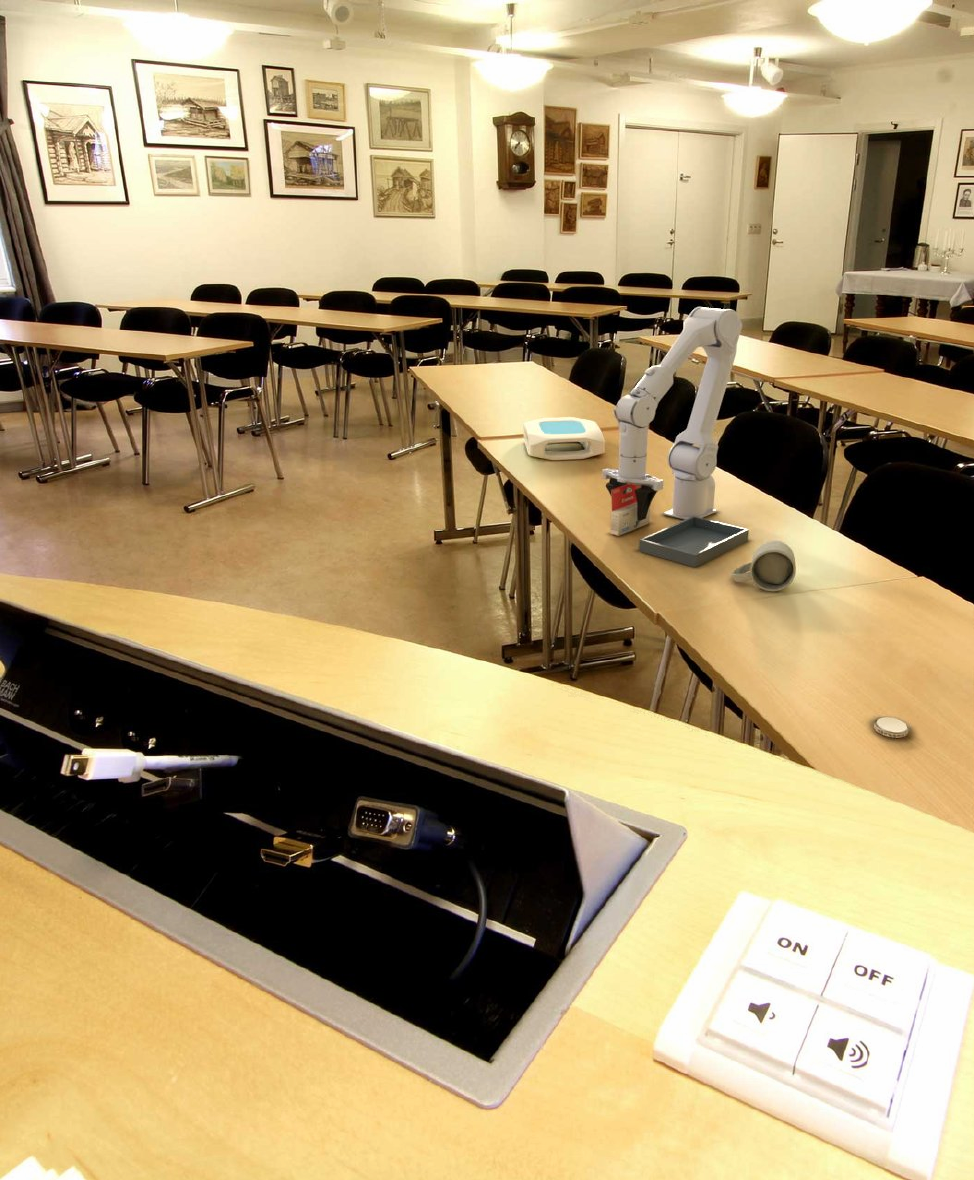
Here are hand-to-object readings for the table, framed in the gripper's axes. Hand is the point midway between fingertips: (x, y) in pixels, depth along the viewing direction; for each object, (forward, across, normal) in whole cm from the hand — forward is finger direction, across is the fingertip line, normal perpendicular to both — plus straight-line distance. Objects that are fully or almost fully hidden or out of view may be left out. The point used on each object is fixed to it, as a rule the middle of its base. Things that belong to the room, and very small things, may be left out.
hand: (630, 516), depth 180 cm
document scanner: (+3, -59, +44) cm, 73 cm away
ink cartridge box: (+3, 0, 0) cm, 3 cm away
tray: (+3, +16, 0) cm, 16 cm away
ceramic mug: (+3, +36, -8) cm, 37 cm away
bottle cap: (+3, +72, -40) cm, 82 cm away
